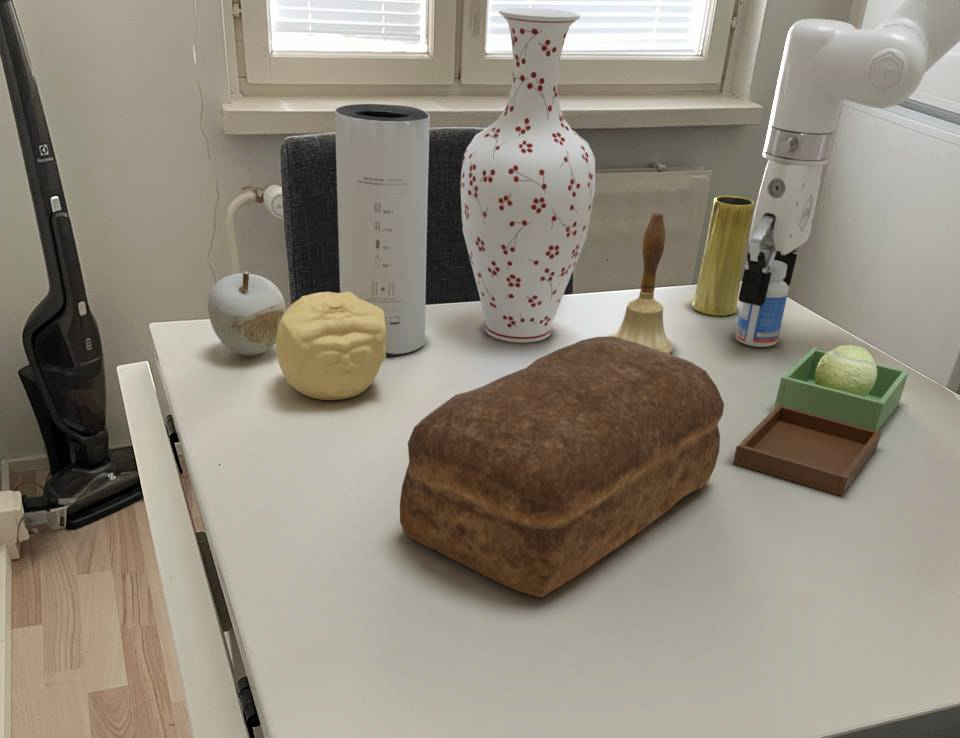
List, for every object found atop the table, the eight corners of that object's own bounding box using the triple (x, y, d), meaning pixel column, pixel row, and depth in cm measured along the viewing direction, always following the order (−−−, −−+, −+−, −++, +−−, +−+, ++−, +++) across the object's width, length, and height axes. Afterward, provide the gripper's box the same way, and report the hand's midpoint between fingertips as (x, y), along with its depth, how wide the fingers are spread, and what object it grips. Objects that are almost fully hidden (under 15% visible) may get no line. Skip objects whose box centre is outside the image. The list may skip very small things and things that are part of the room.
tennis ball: (878, 415, 110) (896, 357, 106) (823, 417, 109) (839, 358, 105) (850, 391, 115) (866, 335, 111) (797, 393, 114) (812, 336, 110)
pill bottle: (782, 339, 130) (800, 263, 124) (768, 351, 126) (786, 273, 120) (742, 329, 132) (758, 254, 126) (728, 341, 128) (743, 264, 122)
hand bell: (593, 345, 125) (609, 212, 115) (632, 330, 130) (650, 201, 120) (647, 365, 120) (668, 228, 111) (685, 348, 125) (708, 216, 116)
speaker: (433, 331, 126) (437, 101, 110) (418, 361, 118) (420, 118, 102) (352, 323, 127) (344, 95, 111) (331, 353, 119) (320, 111, 103)
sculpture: (296, 417, 104) (289, 316, 98) (267, 374, 113) (259, 278, 106) (398, 403, 108) (398, 304, 102) (363, 362, 117) (360, 269, 110)
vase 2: (744, 310, 138) (766, 201, 130) (720, 319, 134) (742, 208, 126) (707, 298, 141) (726, 192, 133) (683, 308, 138) (701, 198, 129)
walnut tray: (876, 449, 105) (881, 431, 103) (841, 496, 96) (847, 478, 95) (774, 421, 109) (778, 404, 108) (732, 463, 100) (736, 445, 99)
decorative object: (249, 334, 123) (241, 251, 116) (303, 351, 119) (298, 267, 113) (196, 355, 117) (185, 268, 110) (251, 374, 113) (243, 285, 107)
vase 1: (450, 308, 133) (458, 0, 112) (568, 309, 135) (598, 6, 114) (461, 354, 120) (473, 16, 99) (591, 354, 122) (630, 23, 101)
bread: (723, 483, 97) (752, 353, 89) (536, 616, 78) (551, 465, 70) (582, 429, 105) (596, 305, 97) (381, 537, 86) (378, 394, 78)
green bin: (898, 404, 114) (909, 371, 112) (872, 438, 107) (883, 403, 104) (804, 380, 119) (812, 347, 116) (773, 411, 111) (781, 377, 109)
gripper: (806, 162, 107) (769, 318, 118) (850, 139, 119) (814, 283, 130) (740, 151, 110) (711, 304, 121) (790, 129, 122) (759, 270, 133)
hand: (764, 293), depth 125 cm, fingers open, 9 cm apart
